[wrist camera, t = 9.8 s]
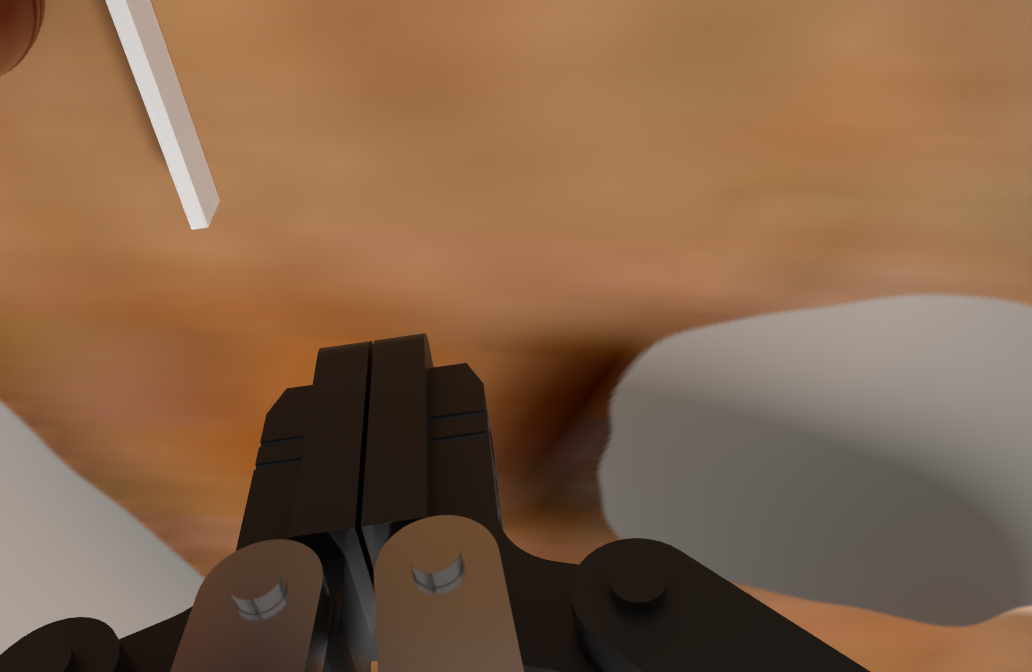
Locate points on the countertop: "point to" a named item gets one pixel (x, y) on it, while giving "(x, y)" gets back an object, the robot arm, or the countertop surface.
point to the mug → (18, 30)
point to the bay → (166, 107)
